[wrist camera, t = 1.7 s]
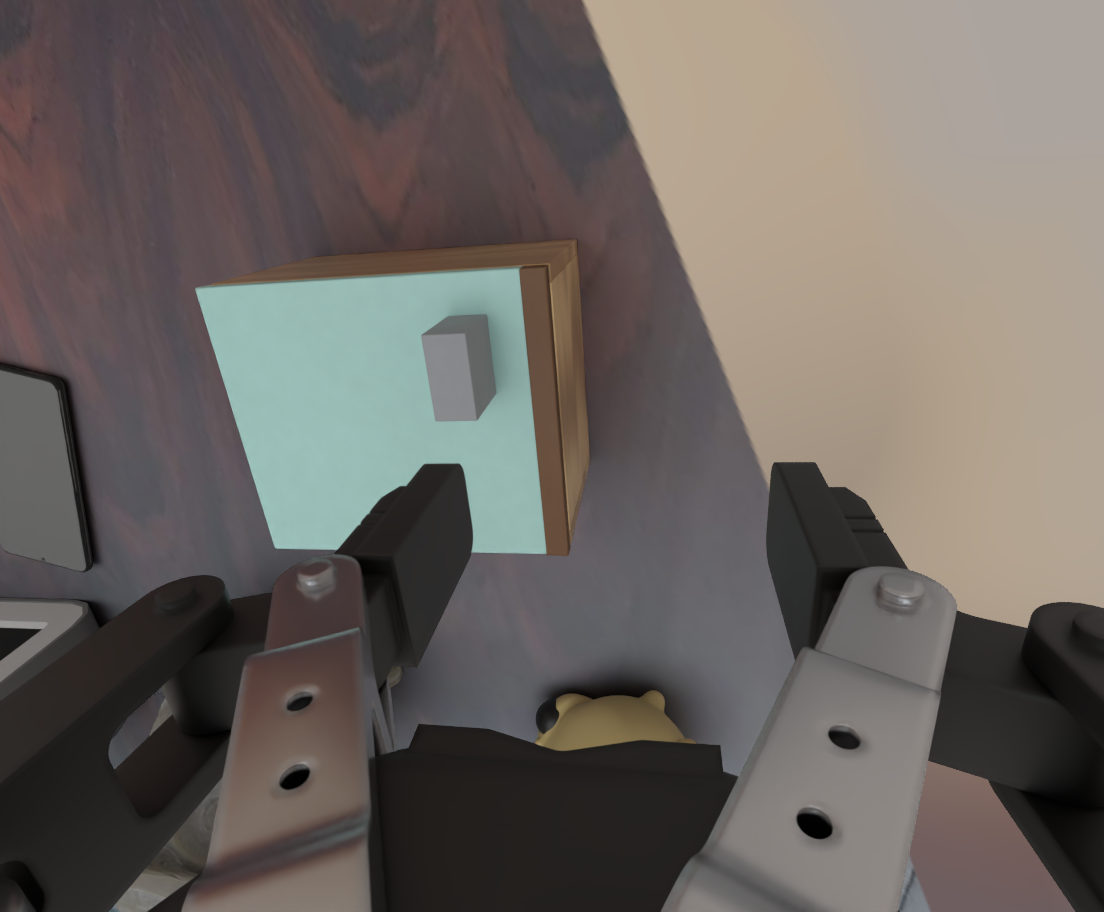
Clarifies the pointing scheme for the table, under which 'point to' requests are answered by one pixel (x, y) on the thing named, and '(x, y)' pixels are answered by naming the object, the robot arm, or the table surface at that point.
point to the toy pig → (604, 721)
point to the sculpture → (114, 909)
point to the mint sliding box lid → (396, 398)
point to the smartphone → (40, 473)
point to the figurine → (183, 844)
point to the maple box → (551, 253)
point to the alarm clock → (39, 636)
